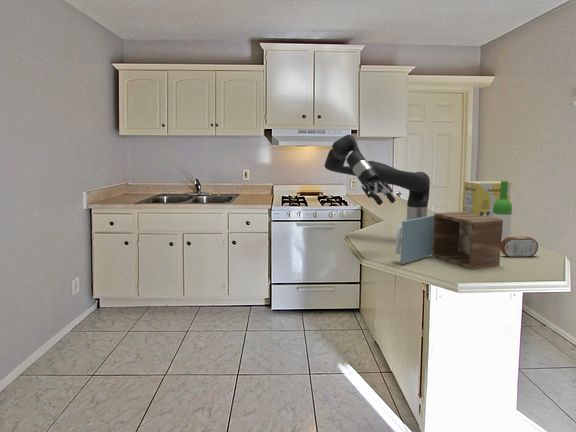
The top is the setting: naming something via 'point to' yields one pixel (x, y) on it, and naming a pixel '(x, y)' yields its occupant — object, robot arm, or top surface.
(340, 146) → the robot arm
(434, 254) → the cabinet
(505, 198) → the wine bottle
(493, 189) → the pasta box
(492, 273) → the top surface
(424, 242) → the door
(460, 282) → the top surface
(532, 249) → the tin
